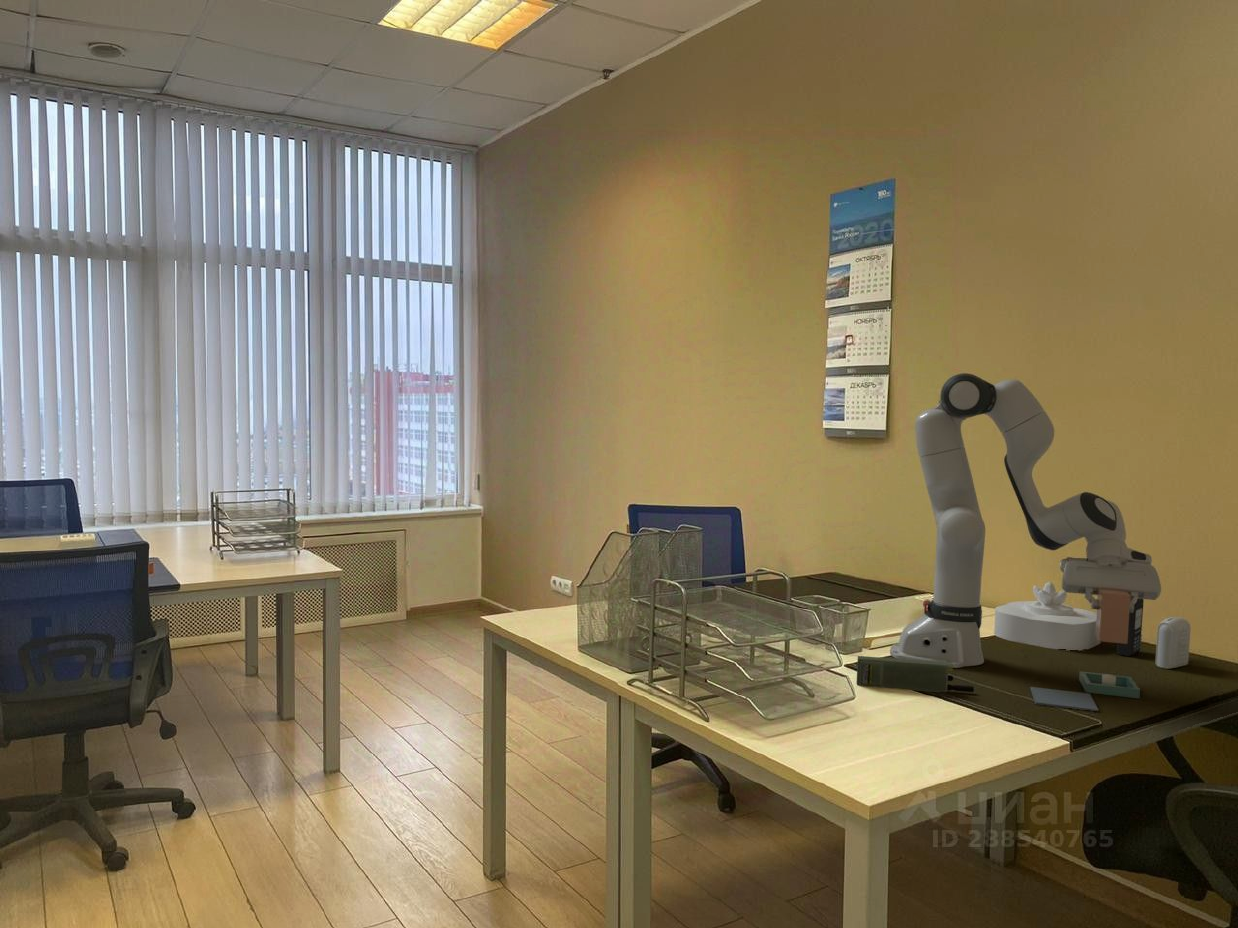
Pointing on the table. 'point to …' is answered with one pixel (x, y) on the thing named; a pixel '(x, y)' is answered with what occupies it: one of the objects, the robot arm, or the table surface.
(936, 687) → the handheld radio
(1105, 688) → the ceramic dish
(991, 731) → the table surface
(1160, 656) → the photo printer
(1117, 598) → the brown tall block
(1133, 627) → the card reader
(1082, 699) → the rubber mat
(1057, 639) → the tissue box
